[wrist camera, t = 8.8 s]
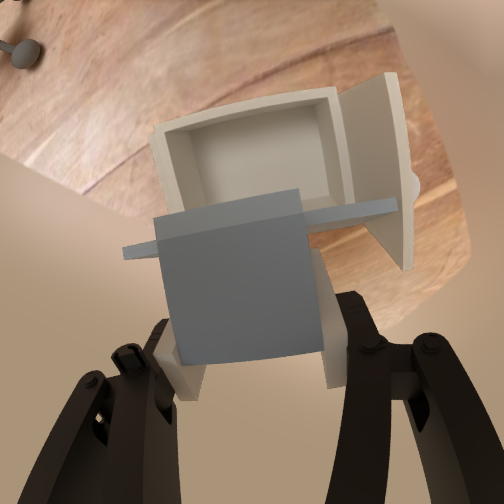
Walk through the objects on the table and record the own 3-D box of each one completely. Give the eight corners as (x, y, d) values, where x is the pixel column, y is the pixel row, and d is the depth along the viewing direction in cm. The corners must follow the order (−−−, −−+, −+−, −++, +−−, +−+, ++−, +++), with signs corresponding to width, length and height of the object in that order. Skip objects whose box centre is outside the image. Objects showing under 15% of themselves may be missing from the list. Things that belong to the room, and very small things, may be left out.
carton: (176, 127, 35) (74, 135, 15) (324, 96, 32) (393, 59, 12) (201, 224, 40) (140, 321, 20) (342, 199, 37) (412, 279, 17)
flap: (45, 248, 10) (69, 363, 10) (453, 168, 8) (473, 312, 8) (190, 247, 30) (199, 297, 30) (351, 218, 28) (360, 270, 28)
